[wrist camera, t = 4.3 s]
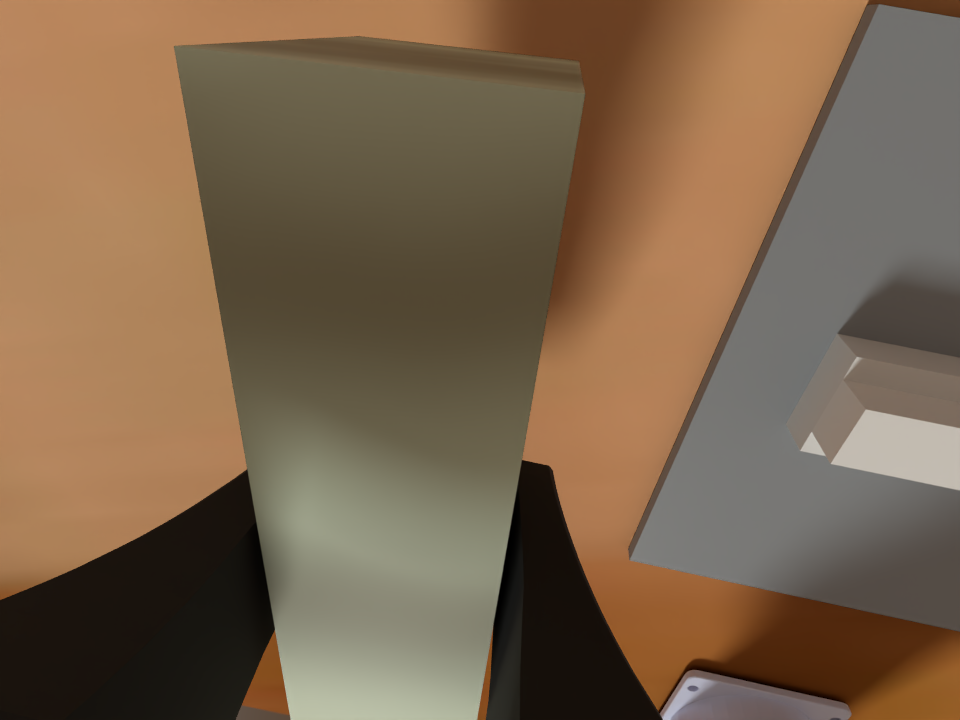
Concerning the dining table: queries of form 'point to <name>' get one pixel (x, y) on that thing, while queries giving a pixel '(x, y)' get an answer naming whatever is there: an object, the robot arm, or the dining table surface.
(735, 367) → the stand
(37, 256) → the dining table surface
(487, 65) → the bar
